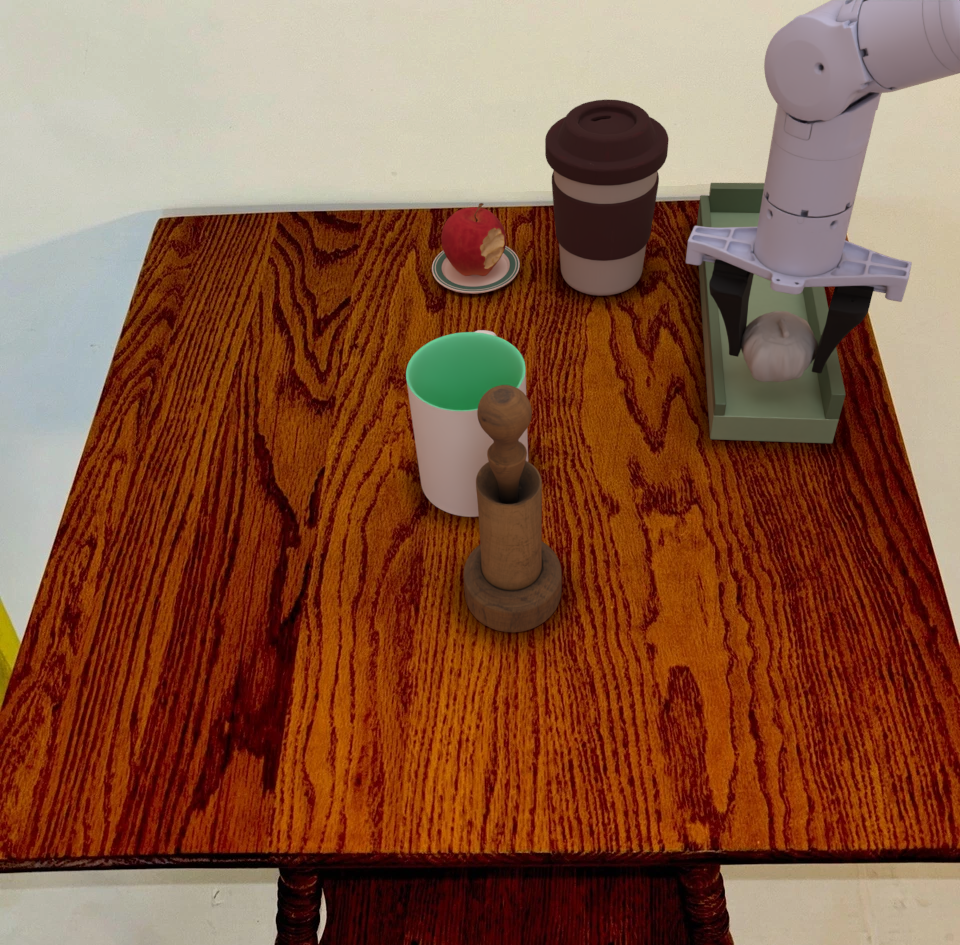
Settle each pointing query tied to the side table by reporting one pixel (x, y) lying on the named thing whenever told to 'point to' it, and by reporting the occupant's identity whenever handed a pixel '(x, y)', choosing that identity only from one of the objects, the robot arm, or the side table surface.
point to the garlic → (778, 346)
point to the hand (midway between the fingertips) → (776, 355)
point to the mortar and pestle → (510, 525)
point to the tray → (730, 385)
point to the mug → (457, 411)
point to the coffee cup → (604, 192)
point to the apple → (474, 253)
